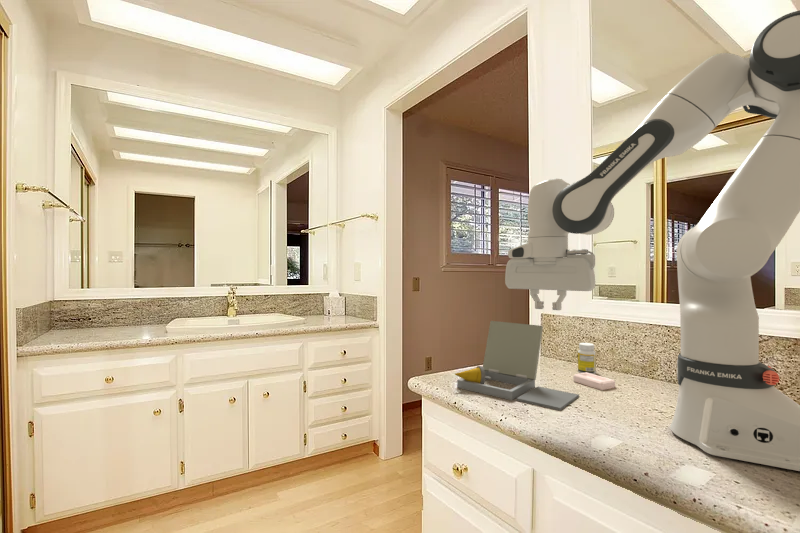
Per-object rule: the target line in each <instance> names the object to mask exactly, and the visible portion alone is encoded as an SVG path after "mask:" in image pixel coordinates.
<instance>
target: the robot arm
mask: <svg viewBox="0 0 800 533" xmlns="http://www.w3.org/2000/svg"><path fill="white" fill-rule="evenodd" d="M741 107H742V108H743V110H744V111H745V112H746V113H747V114H751V115H752V114H753V115H759V116H763V117H767V118H770V119H772V120H774V121H773V122H772V123H771V124H770V126H769V128H768V129H767V130H766V131H765V132H764V134H762V136H761V138H760V139H759V140H758V141H757V143H756V144H755V145H754V147H753V148H752V149H751V151H750V152H749V153H748V154H747V156H746V157H745V158H744V159H743V161H742V162H741V163H740V165H739V166H738V167H737V168H736V170H735V171H734V173H733V174H732V175H731V176H730V178H729V179H728V180H727V182H726V183H725V185H724V186H723V188H722V190H721V191H720V193H719V194H718V196H717V197H716V198H715V199H714V201H713V203H711V205H710V207H709V208H708V209H707V210H706V212H705V213H704V215H703V216H702V217H701V218H700V220H699V222H697V224H696V225H695V226H694V227H693V226H692V228H690V229H688V230H687V231H686V232H685V233H684V234H683V235H682V236H681V237H680V239H679V241H678V243H677V248H676V259H677V260H676V267H677V271H676V272H677V286H678V298H679V299H678V300H679V309H680V310H679V312H680V317H679V318H680V326H679V328H680V353H678V355H677V360H676V380H677V384H678V393H677V394H678V395H677V401H676V406H675V409H674V410H675V411H674V414H673V417H672V421H671V423H670V424H669V428H670V430H671V432H672V433H673V434H674V435H676V436H677V437H679V438H681V439H683V440H684V441H686V442H689V443H691V444H693V445H695V446H697V447H698V448H700V449H701V450H702V451H703V452H705V453H706V454H709V455H712V456H716V457H722V458H727V459H732V460H739V461H744V462H749V463H754V464H761V465H765V466H770V467H776V468H781V469H787V470H790V471H791V470H793V471H798V472H800V404H799V403H797V402H796V401H795V400H793V399H792V398H791V397H789V396H788V395H786V394H785V393H783V392H782V391H781V390H780V389H778V388H776V387H775V386H776V385H777V384H778V383H780V376H779V373H778V372H776V371H775V369H774V368H772V366H770V365H768V366H767V364H765V363H763V362H760V356H759V355H760V354H759V353H760V351H759V350H760V341H759V340H760V337H759V336H760V330H759V329H760V326H759V325H760V324H759V322H760V320H759V319H760V318H759V313H758V310H757V307H756V304H755V299H754V298H755V296H754V291H753V286H752V278H751V277H752V276H754V275H755V274H756V273H758V272H759V271H760V270H762V268H763V267H764V266H765V265H766V264H767V263H768V260H769V259H770V257H771V255H772V254H773V252H775V250H776V249H777V247H778V246H779V244H780V243H781V241H782V240H783V239H784V237H785V236H786V234H787V232H788V231H789V230H790V228H791V226H792V225H793V223H794V222H795V219H796V218H797V217H798V215H799V213H800V10H795V11H792V12H789V13H787V14H784V15H782V16H781V17H778V18H777V19H775V20H773V21H772V22H770V23H769V24H768V25H767V26H766V27H765V28H764V29H763V30H762V31H761V32H760V33H759V34H758V36H757V37H756V38H755V40H754V42H753V45H752V47H751V50H750V54H749V57H742V56H740V55H739V54H735V53H730V52H729V53H728V52H721V53H717V54H714V55H712V56H710V57H709V56H708V58H707V59H705V60H703V61H702V62H701V63H700V64H699V65H697V66H696V67H695V68H694V69H692V70H691V71H690V72H689V73H687V74H686V75H685V76H683V78H681V80H680V81H678V83H676V84H675V85H674V86H673V87H672V88H671V89H670V90H669V91H668V92H667V93H666V94H665V96H663V98H661V100H660V101H659V102H658V103H657V104H656V105H655V106H654V107H653V108H652V110H651V111H650V112H648V113H649V114H647V116H646V117H645V118H644V119H643V121H642V122H641V123H640V124H639V125H638V126H637V128H636V129H635V130H634V131H633V132H632V133H631V135H630V136H628V137H627V138H626V139H625V140H624V141H623V142H622V143H621V144H620V145H619V146H618V147H617V148H616V149H614V151H613V152H611V153H610V154H609V155H608V156H607V157H606V158H605V159H604V160H603V161H602V162H600V164H599V165H597V167H596V168H595V169H594V170H592V172H590V173H589V174H588V175H586V176H585V177H583V178H581V179H579V180H578V181H574V182H572V183H569V182H567V181H566V180H564V179H562V178H550V179H546V180H543V181H541V182H537V184H535V185H533V186H532V187H531V189H530V191H529V195H528V196H529V197H528V203H527V223H528V227H529V229H528V230H529V231H528V235H527V243H524V244H522V245H519V246H516V247H513V248H510V249H509V250H508V251H507V256H508V259H509V260H508V261H507V263H506V265H505V275H504V276H505V277H504V279H505V280H504V284H505V286H506V288H508V289H509V290H510V289H512V290H513V289H514V290H529V295H530V296H531V299H532V300H533V302H534V309H536V310H544V308H545V307H544V305H545V304H544V303H545V302H544V301H543V300H541V299H540V298H539V296H538V295H539V294H540V290H541V291H556V295H557V296H558V298H557V300H556V301H554V302H552V307H551V308H552V311H562V303H563V301H564V300H565V298H566V297H567V291H569V292H591V291H593V290H594V289H595V288H596V276H595V269H594V268H595V266H596V255H595V254H594V253H593V252H592V251H589V249H585V248H584V249H583V248H582V249H569V234H574V235H575V234H577V235H578V234H580V235H587V236H588V235H591V236H593V235H596V234H600V233H602V232H603V231H605V230H606V229H607V228H608V227H610V226H611V224H612V222H613V220H614V217H615V208H614V205H613V203H612V200H613V199H614V197H616V195H617V194H618V193H619V192H621V191H622V190H623V189H624V188H625V187H627V186H628V184H629V183H630V182H631V181H632V180H634V179H635V178H636V177H637V176H638V175H639V174H640V173H641V172H642V171H643V170H645V168H647V167H648V166H649V165H651V164H652V163H655V162H657V161H659V160H661V159H664V158H669V157H676V156H680V155H682V154H684V153H686V152H687V151H688V150H690V149H691V148H693V147H694V146H695V145H697V144H699V142H701V141H702V140H703V139H704V138H706V136H708V134H710V133H711V132H712V131H713V130H714V129H715V128H717V126H718V125H719V124H721V122H722V121H724V119H726V117H728V116H729V115H730V114H731V113H732V112H733V111H735V110H737V109H739V108H741Z"/></svg>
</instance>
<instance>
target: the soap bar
mask: <svg viewBox="0 0 800 533" xmlns="http://www.w3.org/2000/svg"><path fill="white" fill-rule="evenodd" d="M572 380H573V382H576V383H579V384H580V385H583V386H584V385H585V386H587V387H590V388H594V389H597V390H601V391H604V390H609V389H613V388H616V380H614V379H611V378H608V377H605V376H600V375H597V374H591V373H587V372H585V373H580V372H578V373H574V374H573V377H572Z"/></svg>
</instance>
